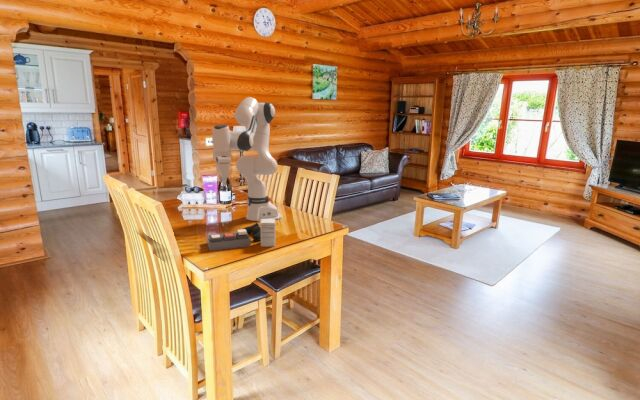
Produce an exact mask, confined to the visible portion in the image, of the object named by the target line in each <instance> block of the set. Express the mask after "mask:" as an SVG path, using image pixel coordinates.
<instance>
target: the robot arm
mask: <svg viewBox="0 0 640 400" xmlns="http://www.w3.org/2000/svg"><path fill="white" fill-rule="evenodd" d="M275 117H276V108H275V105H274V104H273V103H271V102H258V100H257V99H256V98H254V97H251V96H247V97H246V98H244V99H243V100H242V101H241V102H240V103H239V104H238V106H237V107H236V109H235V112H234V118H235V121H236V122H237V123H238V124H239V125H240V126H243V127H246V130H242V131H240V130H239V131H238V130H230V127H229V125H227V124H217V125H216V124H215V126H213V128H212V136H211V137H212V138H211V139H212V140H211V141H212V145H213V148H212V160H213V162H215V164H216V169H215V170H216V173H217V174H218V177H219V182H220V183H221V184H222V186H223V187H224V186H225V187H226V186H227V181H228V179H229V178H230V173H231V163H232V152H231V150H233V151H234V150H235V151H236V150H237V151H245V152H247V151H250V150H251V149H252V151H253V152H255V153H257V154H258V155H257V156H251V155H249V156H248V155H247V156H246V155H245V156H239V157H238V158H237V160H236V162H235V168H236V170H237V172H238V173H240V174H241V176H242V177H243V178H244V179H245V182H246V184H247V199H246V200H247V211H246V216H245V219H246V220H248V221H253V222H257V223H260V222H261V219H275V221H276V220H282V218H283V216H282V214H281V213H280V212H279V210H278V207H277V206H276V205H275V204H273V203H272V202H270V201H272V197H270V196H268V195H267V185H266V183H265V182H264V181H263V180H262V179H260V178H259V177H258V175H260V176H261V175H262V176H268V175H274V174H275V173H277V171H278V162H277V160H276V159H275V158H274V156H272V155H271V152H270V150H269V149H270V148H269V146H270V145H269V144H270V135H271V134H270V133H271V131H270V129H271V128H270V127H271V126H270V124H271V122H272V121H273V120H274V119H275Z"/></svg>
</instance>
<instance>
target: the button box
mask: <svg viewBox="0 0 640 400" xmlns="http://www.w3.org/2000/svg"><path fill="white" fill-rule="evenodd" d="M230 233H231V232H227V233H226V232H225V233H218V234H217V233H215V234H214V235H220V238H215V239H211V235H212V234H206V244H207V248H208V249H209V252H211V251H220V250H221V251H222V250H227V249H229V250H230V249H235V248H247V247H251V246H252V245H251V244H252V243H251V242H252V239H251V237H250V235H249V234H248V233H247V234H244V235H239V234H238V233H237V231H235V232H232V233H233V235H234V237H225V236H224V234H230Z"/></svg>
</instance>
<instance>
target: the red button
mask: <svg viewBox="0 0 640 400" xmlns="http://www.w3.org/2000/svg"><path fill="white" fill-rule="evenodd" d="M229 233H230V234H225V233H223V234H224V236H225V237H234V235H233V233H234V232H229Z"/></svg>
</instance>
